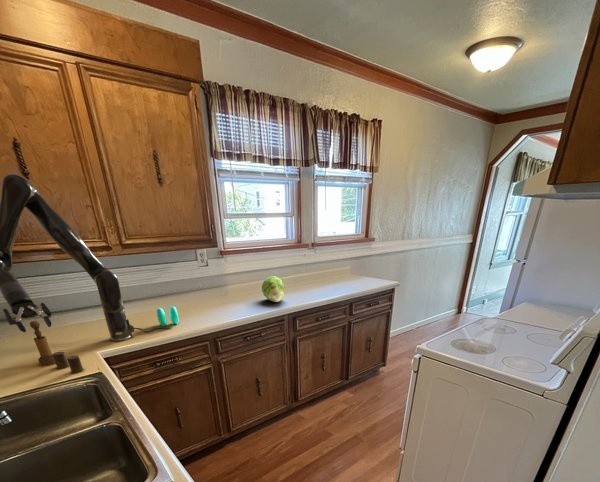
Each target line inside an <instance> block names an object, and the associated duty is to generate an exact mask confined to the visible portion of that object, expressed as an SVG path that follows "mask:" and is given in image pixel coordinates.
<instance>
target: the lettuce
mask: <svg viewBox="0 0 600 482" xmlns="http://www.w3.org/2000/svg"><path fill="white" fill-rule="evenodd" d="M285 290H286V288H285V284H284V283H283V281H282V279H281V278H280V277H278V276H275V275H273V276H268V277H267V278H265V279H264V281H263V282H262V285H261V292H262V294H263V295H264V297H265V298H266V299H267V300H268V301H270V302H273V303H278V302H280V301H281V300H282V299H283V298H284V295H285Z"/></svg>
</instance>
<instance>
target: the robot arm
mask: <svg viewBox="0 0 600 482" xmlns="http://www.w3.org/2000/svg"><path fill="white" fill-rule="evenodd" d="M0 195H1V197H0V293H1V296H2V297H3V299H4V300H5V301H6V303H7V304H8V306H9V307H10V308H11V309H7V308H3V309H2V314H3V315H4V316H3V317H5V319H6V321H7V323H8V325H9V326H13V325H14V326H17V328H18V330H19V331H20V332H23V333H26V332H27V329H26V327H25V326H24V324H23V323H22V320H23V319H28V318H34V317H36V318H39V319H42V320H43V321H44V323H45V324H46V326H47V327H48V328H51V327H52V321H51V319H50V318H52V312H51V310H50V309H49V308H48V306H47V305H46V304H45V303H44V302H41V303H40V304H35V303H34V301H33V300H32V298H31V296H29V294H28V292H27V291H26V289H25V288H24V287H23V286H22V284H21V283H20V281H19V280H18V279H17V277H16V276H15V275H14V274H13V273H12V272H11V271H12V269H13V249H14V248H13V247H14V246H15V245H14V244H15V241H16V238H17V236H18V235H17V234H18V231H19V225H20V221H21V216H22V214H23V211H24V209H25V208H26V209H27V211H29V212H30V213H31V215H32V216H34V217H35V219H36V220H37V221H38V223H39V224H40V226H41V227H42V228H43V230H44V231H45V233H47V235H48V236H49V237H50V238H51V240H52V241H53V242H54V243H55V245H57V246H58V247H59V248H60V249H61V250H62V251H63V252H64V253H66V254H67V255H68V257H70V258H71V259H72V260H73V261H74V262H76V263H77V264H79V265H80V266H81V267H82V269H84V271H85V272H86V273H87V274H88V275H89V277H90V278H91V279H92V281H93V282H94V283H95V284H96V287H97V290H98V294H99V295H98V296H99V300H100V304H101V308H102V311H103V314H104V318H105V322H106V326H107V329H108V333H109V337H110V340H111V341H114V342H120V341H126V340H130V339H131V338H133V333H135V330H139V331H142V332H144V333H151V332H154V331H156V330H170V329H171V328H172V327H155V328H152V329H150V330H145V329H143V328H141V327H134V325H132V324H131V323H130V320H129V319H128V318H127V313H126V310H125V307H124V302H123V295H122V289H121V287H120V281H119V279H118V277H117V275H116V274H115V273H114V272H112V271H111V270H110V269H108V268H107V267H106V266H105V265H104V264H103V263H102V262H101V261H100V260H99V259H98V258H97V257H96V256H95V255H94V254H93V252H92V251H91V249H90V248H89V246H88V245H87V244H86V243H85V241H84V239H83V238H82V237H81V236H80V235H79V234H78V233H77V231H75V230H74V228H73V227H71V225H70V224H69V223H68V222H67V221H66V220H65V219H64V218H63V217H62V216H60V214H58V213H57V211H56V210H54V209H53V208H52V207H51V205H50V204H48V203H47V201H46V200H45V199H44V197H43V196H42V194H41V193H40V192H39V191H38V190H37V188H36V187H35V186H34V184H33V183H32V181H31V180H30V179H28V178H27V177H25V176H23V175H21V174H17V173H8V174H6V175H4V177H3V178H2V179H1V194H0ZM12 314H13V315H16V318H15V319H13V317H12Z"/></svg>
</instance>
